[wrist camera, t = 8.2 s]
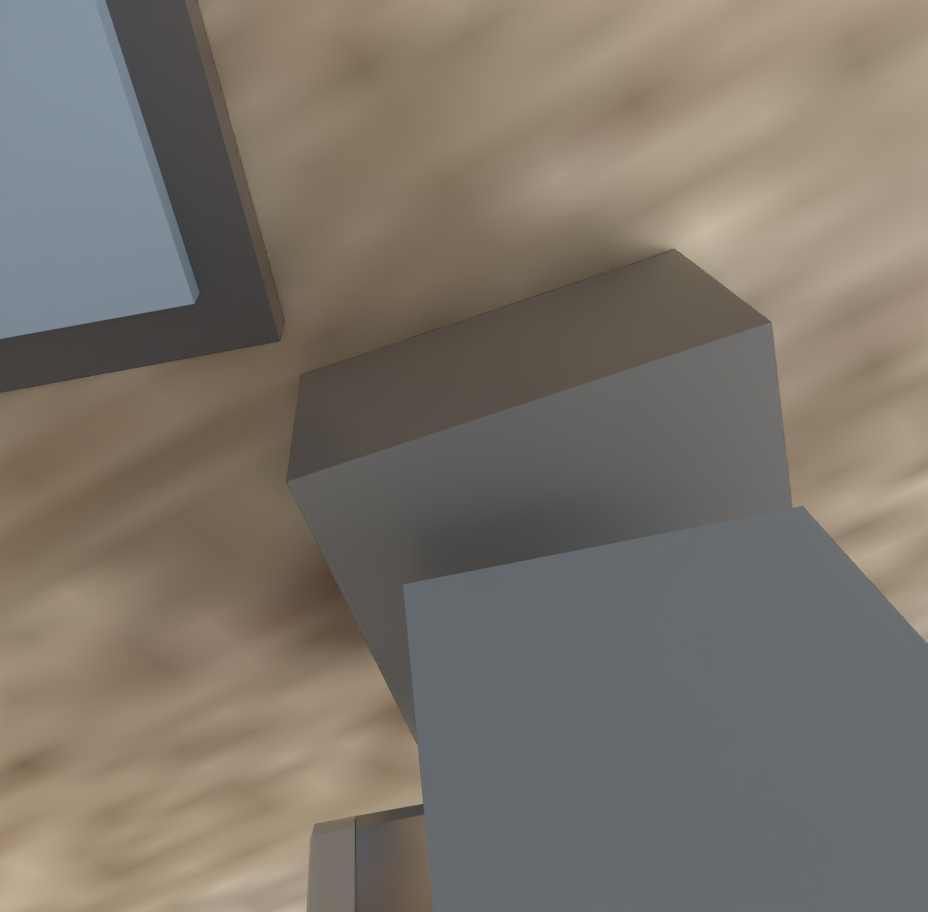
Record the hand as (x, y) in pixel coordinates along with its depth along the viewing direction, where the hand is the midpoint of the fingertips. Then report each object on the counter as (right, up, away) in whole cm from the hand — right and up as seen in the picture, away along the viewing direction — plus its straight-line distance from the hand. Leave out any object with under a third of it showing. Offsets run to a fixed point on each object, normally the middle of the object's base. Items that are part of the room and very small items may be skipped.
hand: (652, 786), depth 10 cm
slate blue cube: (0, +1, +1) cm, 2 cm away
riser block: (-1, +4, +7) cm, 8 cm away
